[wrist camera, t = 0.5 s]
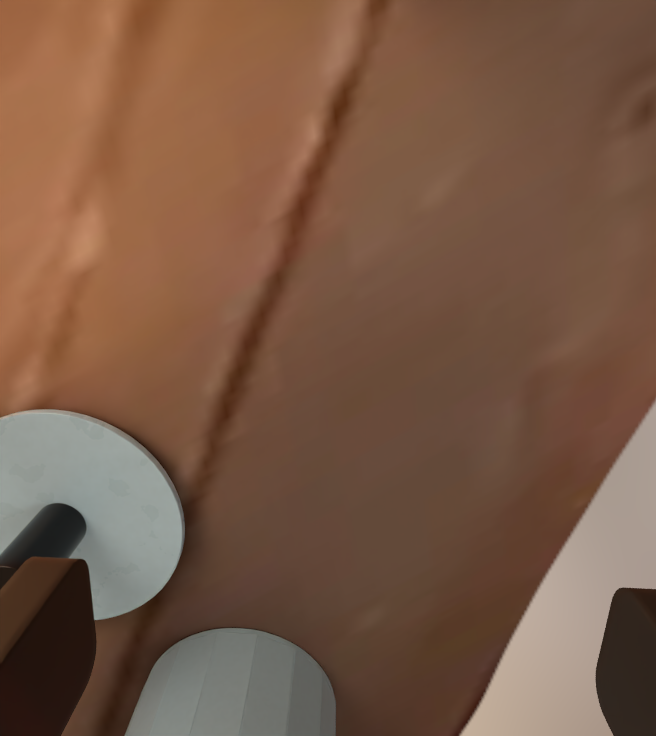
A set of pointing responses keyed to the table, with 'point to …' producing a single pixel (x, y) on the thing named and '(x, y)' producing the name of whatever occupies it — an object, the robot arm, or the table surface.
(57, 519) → the lid
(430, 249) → the table surface
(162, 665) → the pot
